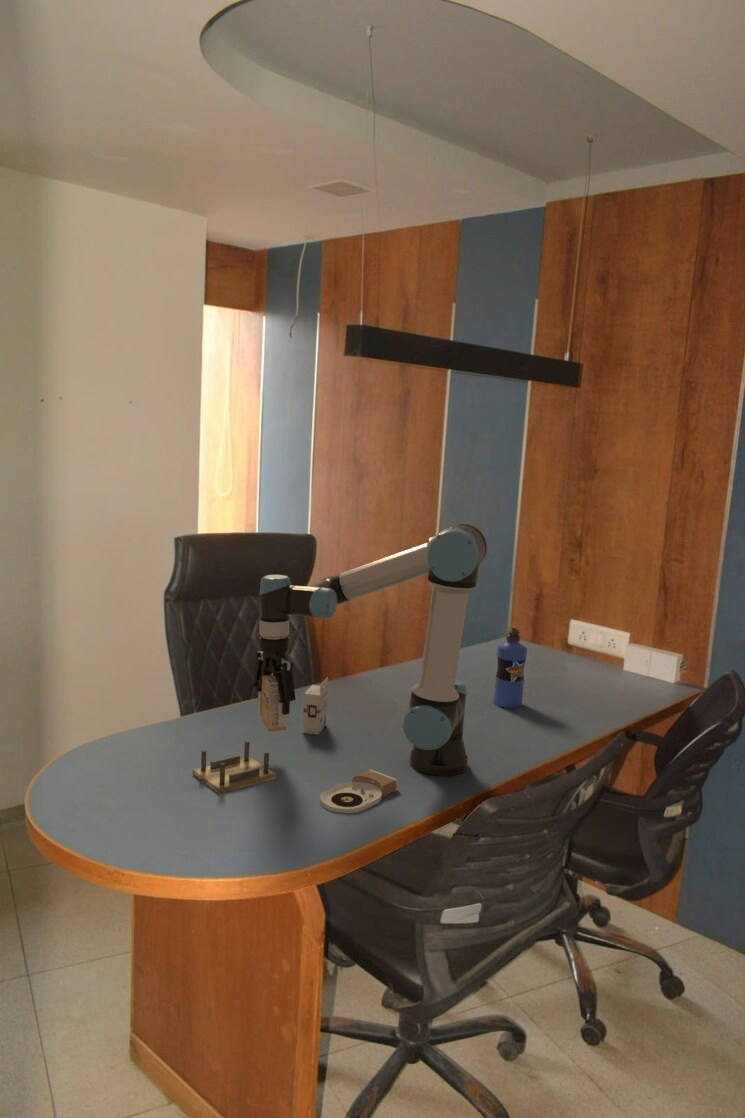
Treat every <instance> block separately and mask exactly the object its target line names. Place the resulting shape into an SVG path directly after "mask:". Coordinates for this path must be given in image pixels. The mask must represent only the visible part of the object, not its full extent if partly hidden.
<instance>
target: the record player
mask: <svg viewBox="0 0 745 1118" xmlns="http://www.w3.org/2000/svg"><path fill="white" fill-rule="evenodd" d="M398 789H399V781H398V779H397V778H395V777H392V776H390V775H387V774H384V773H382V772H379V771H376V770H374V769H368V770H366V771H364V772H360V773H359V774H357V775H354V776H353V777H352V779H351V781H348V782H343V783H340V784H337V785H334V786H333V787H331V788H329V789H328V788H327V789H326V790H325V791H323V792H322V793H321V794H320V797H319V803H320V804H321V806H322V807H324V808H325V809H326V810H329V811H332V812H334V811H335V813H340V814H354V812H355V813H360V812H362V810H363V811H365V810H367V809H369V808H371V807H373V806H375V805H377V804H379V803H380V802H381V801H380V800H382V798H384V797H386V796H388V795H389V793H390V794H392V793H394V792H396V791H398ZM395 790H396V791H395ZM393 791H394V792H393ZM391 792H392V793H391ZM387 794H388V795H387ZM385 795H386V796H385ZM383 796H384V797H383ZM379 801H380V802H379ZM378 802H379V803H378ZM368 807H369V808H368ZM366 808H367V809H366ZM364 809H365V810H364ZM359 811H360V812H359ZM341 812H342V813H341Z"/></svg>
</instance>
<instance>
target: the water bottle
mask: <svg viewBox="0 0 745 1118" xmlns="http://www.w3.org/2000/svg"><path fill="white" fill-rule="evenodd" d="M507 633H508V634H506V637H505V639H506V641H505V642H502V643H499V644H497V648H496V649H497V650H496V657H497V670H496V674H495V680H494V681H495V682H494V693H493V694H494V695H493V705H495V706H496V705H497V706H496V707H498V706H499V707H498V708H501V707H503V708H502V709H507V708H510V709H509V710H513V709H514V708H516V709H519V708H522V706H523V696H524V684H525V678H524V677H525V676H524V669H525V664H526V659H527V656H528V655H527V654H528V647H526V646H525V645H524V644H521V642H520V639H521V635H519V634H520V633H521V632H520V630H518V629H517V628H514V627H511V628H510V629H509V630H508V631H507ZM512 708H513V709H512ZM514 710H515V709H514Z"/></svg>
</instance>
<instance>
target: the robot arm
mask: <svg viewBox="0 0 745 1118" xmlns="http://www.w3.org/2000/svg"><path fill="white" fill-rule="evenodd" d="M487 551H488V545H487V539H486V537H485V535H484V534H483V532H482V531H481V530H480V529H479V528H477V527H476V526H474V525H472V524H469V523H468V524H467V523H458V524H454V525H451V526H450V527H449V528H446V529H443V530H441V531H440V532H438V533H437V535H436V534H435V535H434V536H431V537H430V538H429V539H428V541H427V542H425V543H423V544H420V545H417V546H413V547H411V548H409V549H406V550H402V551H400V552H397V553H395V554H392V555H389V556H385V557H383V558H379V559H377V560H374V561H373V562H372V561H371V562H370V563H366V564H363V565H361V566H358V567H355V568H352V569H348V570H347V571H343V572H341V573H338V574H335V575H330V576H327V577H325V578H323V579H321V580H319V581H318V582H316V583H313V584H311V585H310V586H307V585H296V584H295V585H294V584H291V579H290V577H289V576H288V575H284V574H267V575H264V576H263V577H262V578H261V579H260V586H259V587H260V589H259V594H258V595H259V629H258V630H259V632H258V633H259V635H260V637H259V647H258V649H259V651H256V652H255V658H256V660H255V667H254V674H253V681H252V686H253V687H254V688H255V689H256V691H257V700H258V701H257V703H258V706H257V711H258V712H257V716H258V717H261V709H262V676H264V675H269V674H272V673H273V676H274V677H275V678H276V682H278V691H279V695H280V699H281V701H278V702H279V718H278V726H279V727H283V726H289V725H290V711H291V710H290V707H291V706H290V705H291V704H290V702H293V701H296V692H295V690H296V689H295V683H294V674H293V667H294V662H293V661H287V659H286V654H287V652H288V651H289V649H290V637H289V634H290V615H291V616H299V617H308V618H309V617H310V618H316V619H330V618H332V617H333V616H334V615H335V613H336V611H337V606H338V605H341V604H345V603H346V602H349V601H352V600H355V599H358V598H361V597H364V596H367V595H370V594H373V593H375V592H378V591H381V590H384V589H387V588H391V587H393V586H396V585H400V584H403V583H405V582H409V581H412V580H414V579H417V578H420V577H423V576H425V575H426V576H427V582H428V583H429V585H430V586H431V587H432V592H431V598H430V604H429V605H430V606H429V612H428V619H427V626H426V633H425V637H424V645H423V653H422V660H421V667H420V673H419V680H418V682H417V683H416V684H414V685H412V687H411V692H410V700H409V706H408V710H407V711H406V713H405V714H404V717H403V722H402V727H403V728H402V729H403V733H404V735H405V737H406V738H407V740H408V741H409V742H410V743H411V744H412V746H413V748H412V749H411V751H410V755H409V765H410V766H411V767H412V768H413V769H415V770H416V771H418V772H421V773H423V774H429V775H432V776H433V775H434V776H442V777H443V776H444V777H445V776H455V775H460V774H461V773H464V772H465V771H467V769H468V761H469V760H468V755H467V754H466V748H465V744H464V743H465V742H464V738H463V737H464V727H465V726H464V723H465V709H466V698H467V695H468V693H467V685H466V684H465V683H464V682H463V681H460V680H457V679H456V677H457V671H458V664H459V657H460V652H461V651H460V650H461V644H462V638H463V631H464V625H465V619H466V611H467V605H468V598H469V594H470V593H471V592H472V591H474V590H475V589H476V588H477V583H478V577H479V569H480V565H481V564H482V562H483V561H484V560H485V558H486V556H487Z"/></svg>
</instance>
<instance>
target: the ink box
mask: <svg viewBox="0 0 745 1118" xmlns="http://www.w3.org/2000/svg"><path fill="white" fill-rule="evenodd" d="M328 686H329V676H327V677H326V678H325V679H324V680H323V681H322V682H321V684H320V685H318V684H317V685H315V684H312V685H311V686H310V687H309V688H308V689H307V690H306V691H305V692H304V693H303V712H302V713H303V716H302V733H303V734H310V735H311V734H312V735H320V734H321V732H322V731H323V729H325V726H326V724H327V708H328V707H327V706H328V689H329V687H328Z"/></svg>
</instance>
